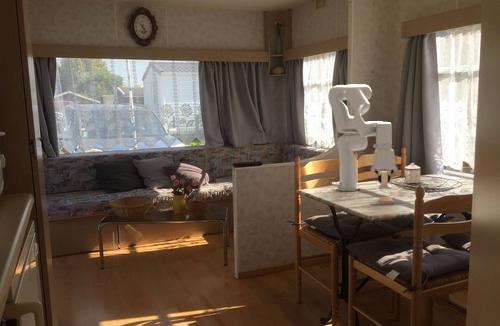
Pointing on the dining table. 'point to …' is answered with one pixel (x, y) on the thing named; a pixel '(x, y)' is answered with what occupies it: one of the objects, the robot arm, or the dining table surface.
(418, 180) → the teacup with lid
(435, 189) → the dining table surface
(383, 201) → the tile
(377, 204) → the mat
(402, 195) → the tool rest
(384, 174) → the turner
